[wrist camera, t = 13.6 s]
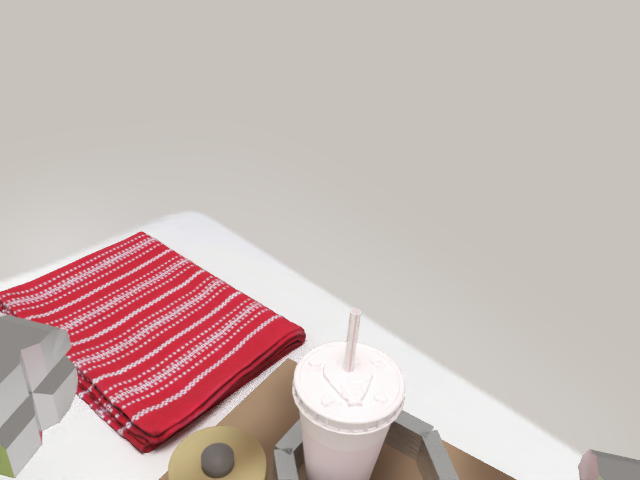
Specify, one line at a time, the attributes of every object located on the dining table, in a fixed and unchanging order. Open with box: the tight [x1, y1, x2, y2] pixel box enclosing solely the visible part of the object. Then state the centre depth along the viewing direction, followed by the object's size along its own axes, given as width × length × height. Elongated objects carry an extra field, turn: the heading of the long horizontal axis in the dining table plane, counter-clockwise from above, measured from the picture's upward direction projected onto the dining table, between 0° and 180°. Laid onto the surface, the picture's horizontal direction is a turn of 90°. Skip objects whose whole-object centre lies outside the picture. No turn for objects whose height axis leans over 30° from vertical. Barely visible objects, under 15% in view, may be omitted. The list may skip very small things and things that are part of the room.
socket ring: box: [273, 410, 459, 480], centre depth 38 cm, size 11×11×2 cm
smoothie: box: [292, 308, 405, 480], centre depth 35 cm, size 6×6×14 cm
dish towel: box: [0, 232, 306, 453], centre depth 52 cm, size 17×24×3 cm
